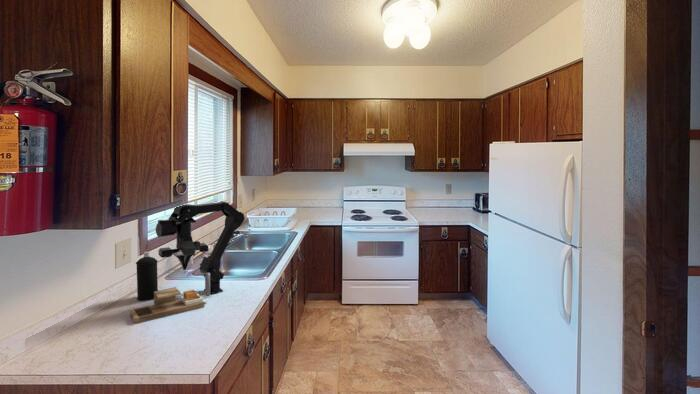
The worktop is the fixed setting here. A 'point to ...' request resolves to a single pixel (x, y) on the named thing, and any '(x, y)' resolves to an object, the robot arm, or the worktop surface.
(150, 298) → the aerosol can
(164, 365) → the worktop surface
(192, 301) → the sled
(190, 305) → the tan piece
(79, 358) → the worktop surface
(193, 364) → the worktop surface
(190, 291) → the block
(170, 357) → the worktop surface
